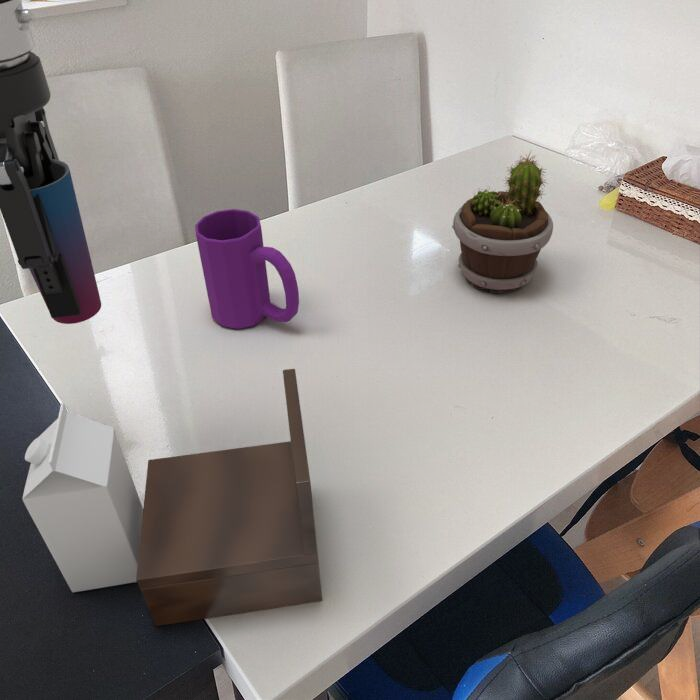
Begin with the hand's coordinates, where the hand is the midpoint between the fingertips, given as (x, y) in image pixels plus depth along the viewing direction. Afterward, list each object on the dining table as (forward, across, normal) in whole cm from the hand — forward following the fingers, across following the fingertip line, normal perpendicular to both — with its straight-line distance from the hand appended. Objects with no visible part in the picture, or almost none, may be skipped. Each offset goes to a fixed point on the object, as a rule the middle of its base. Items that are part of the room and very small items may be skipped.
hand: (71, 294), depth 69 cm
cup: (+2, 0, 0) cm, 2 cm away
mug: (+22, +21, -18) cm, 36 cm away
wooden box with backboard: (+22, -18, -13) cm, 31 cm away
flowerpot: (+22, +25, -56) cm, 65 cm away
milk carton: (+22, -17, 0) cm, 28 cm away
